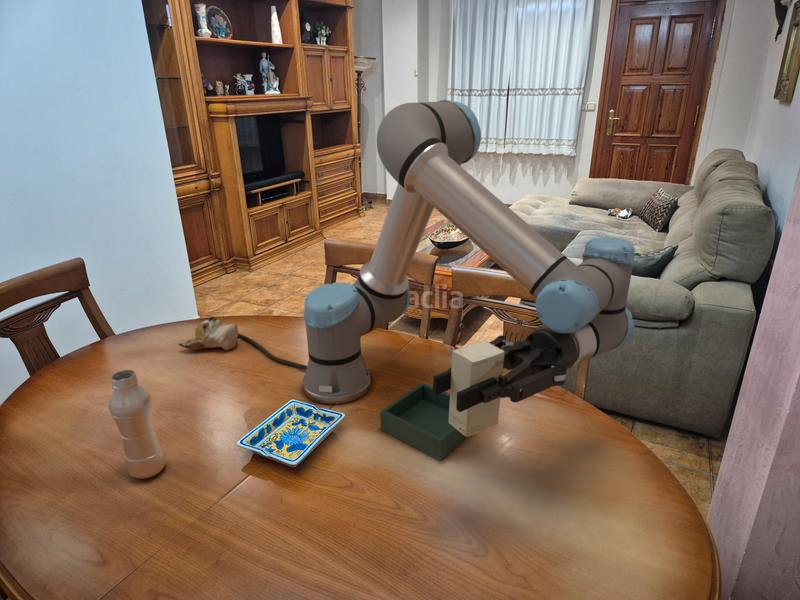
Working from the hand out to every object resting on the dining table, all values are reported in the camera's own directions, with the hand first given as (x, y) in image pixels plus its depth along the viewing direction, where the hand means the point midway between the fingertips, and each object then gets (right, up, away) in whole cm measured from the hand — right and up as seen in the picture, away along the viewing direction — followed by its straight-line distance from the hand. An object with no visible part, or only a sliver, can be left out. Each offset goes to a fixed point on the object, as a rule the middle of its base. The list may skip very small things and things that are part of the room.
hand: (446, 393), depth 70 cm
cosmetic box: (+4, -6, +6) cm, 9 cm away
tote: (0, -13, +33) cm, 35 cm away
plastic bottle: (-52, -18, +23) cm, 59 cm away
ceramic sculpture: (-56, 0, +67) cm, 87 cm away
